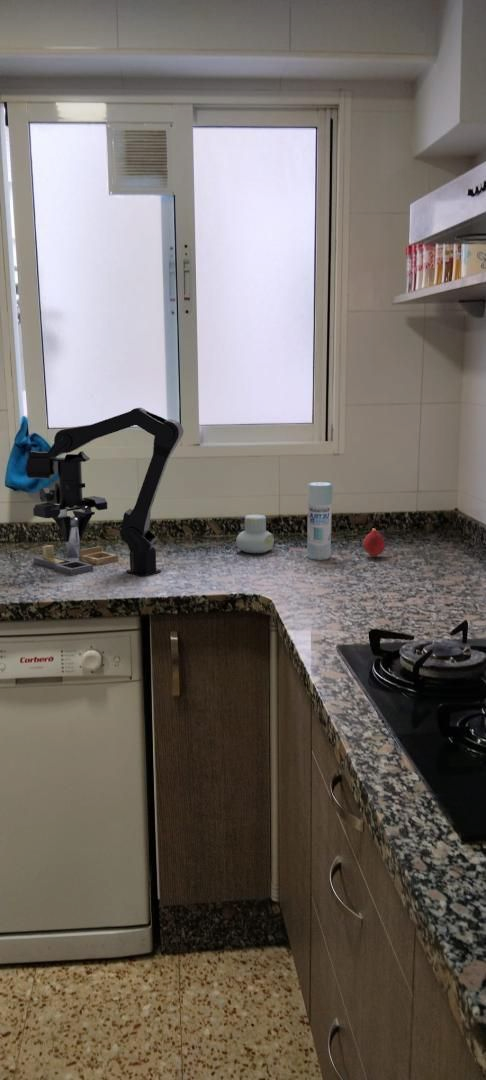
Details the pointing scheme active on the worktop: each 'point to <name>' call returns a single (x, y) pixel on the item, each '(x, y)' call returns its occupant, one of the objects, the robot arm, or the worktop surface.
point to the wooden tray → (96, 556)
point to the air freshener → (255, 535)
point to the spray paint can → (319, 520)
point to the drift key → (50, 554)
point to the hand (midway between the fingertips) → (72, 540)
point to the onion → (374, 543)
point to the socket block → (65, 565)
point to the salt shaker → (73, 539)
